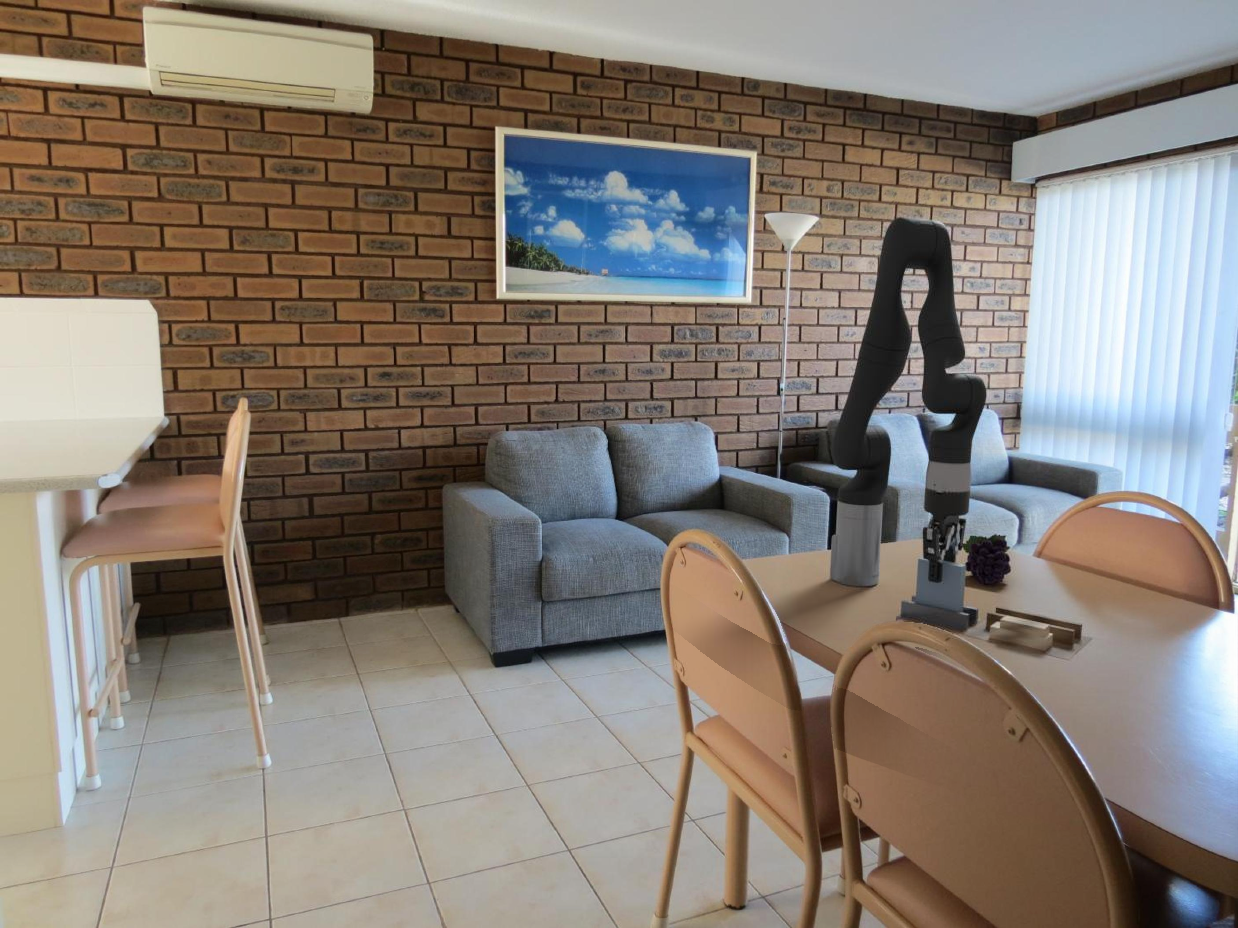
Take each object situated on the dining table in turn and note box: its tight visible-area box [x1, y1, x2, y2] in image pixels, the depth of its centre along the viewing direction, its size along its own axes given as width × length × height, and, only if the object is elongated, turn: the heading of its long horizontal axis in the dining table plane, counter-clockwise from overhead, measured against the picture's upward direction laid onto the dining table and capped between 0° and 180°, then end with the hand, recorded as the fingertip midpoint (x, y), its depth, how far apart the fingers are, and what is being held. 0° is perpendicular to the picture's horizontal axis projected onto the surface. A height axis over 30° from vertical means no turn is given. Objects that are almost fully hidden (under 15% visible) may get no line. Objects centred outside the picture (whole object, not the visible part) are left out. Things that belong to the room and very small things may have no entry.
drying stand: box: [895, 594, 981, 633], centre depth 159 cm, size 12×9×4 cm
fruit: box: [962, 533, 1012, 585], centre depth 188 cm, size 10×11×15 cm
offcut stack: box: [989, 615, 1053, 651], centre depth 147 cm, size 9×4×4 cm, turn 48°
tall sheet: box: [915, 556, 967, 613], centre depth 158 cm, size 8×2×10 cm, turn 46°
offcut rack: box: [961, 605, 1094, 661], centre depth 149 cm, size 17×14×4 cm
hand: (941, 578), depth 158 cm, fingers open, 5 cm apart
